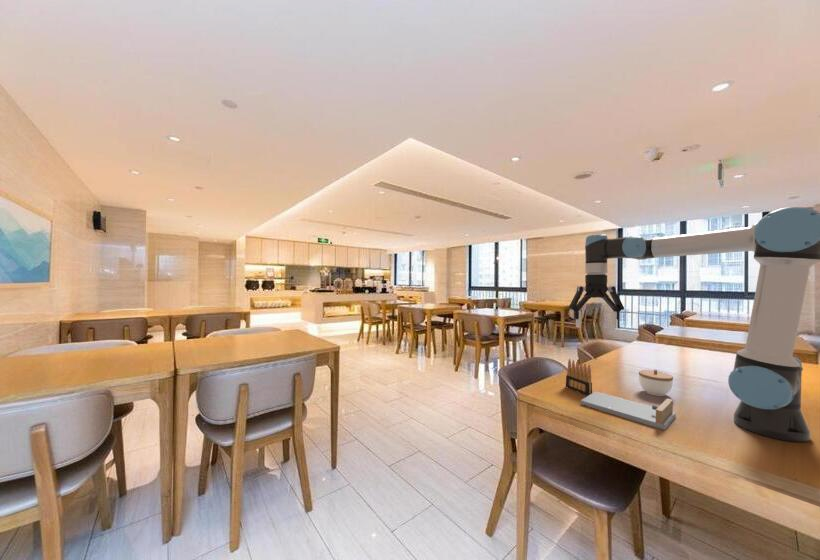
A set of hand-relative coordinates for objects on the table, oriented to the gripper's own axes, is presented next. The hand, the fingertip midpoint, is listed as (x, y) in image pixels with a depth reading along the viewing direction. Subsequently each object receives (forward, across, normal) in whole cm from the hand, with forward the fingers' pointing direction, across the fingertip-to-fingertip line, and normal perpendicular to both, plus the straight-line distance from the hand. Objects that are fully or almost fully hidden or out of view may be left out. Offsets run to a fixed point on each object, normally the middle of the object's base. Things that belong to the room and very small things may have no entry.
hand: (596, 327), depth 124 cm
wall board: (+26, -1, +16) cm, 31 cm away
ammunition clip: (+26, +6, -1) cm, 27 cm away
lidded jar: (+26, -24, -1) cm, 35 cm away
